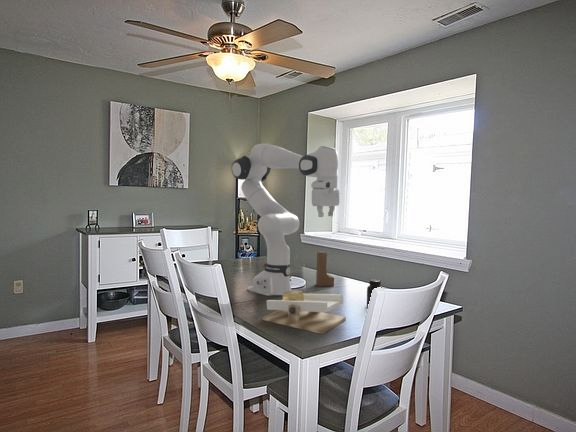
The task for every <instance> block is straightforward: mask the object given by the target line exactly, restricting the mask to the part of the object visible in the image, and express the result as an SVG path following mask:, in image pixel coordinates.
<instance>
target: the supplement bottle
mask: <svg viewBox="0 0 576 432" xmlns="http://www.w3.org/2000/svg"><path fill="white" fill-rule="evenodd" d="M381 282H382V281H381V280H380V279H377V278H376V279H375V278H372V279H369V282H368V284H369V285H367V288H366V307H367V308H368V304H369V301H370V297H371V293H372V290H373V289H374V288H377V287H381V288H383V287H382V283H381Z"/></svg>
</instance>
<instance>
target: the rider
mask: <svg viewBox="0 0 576 432" xmlns="http://www.w3.org/2000/svg"><path fill="white" fill-rule="evenodd" d="M303 294H304V290H292V291H288V292H285V293H283V294H282V295H281V296H282V300H285V301H304V295H303Z"/></svg>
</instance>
